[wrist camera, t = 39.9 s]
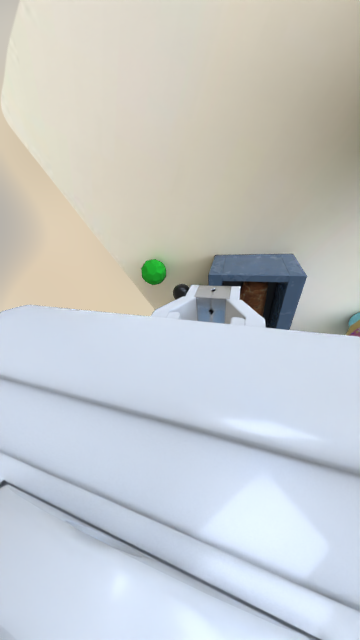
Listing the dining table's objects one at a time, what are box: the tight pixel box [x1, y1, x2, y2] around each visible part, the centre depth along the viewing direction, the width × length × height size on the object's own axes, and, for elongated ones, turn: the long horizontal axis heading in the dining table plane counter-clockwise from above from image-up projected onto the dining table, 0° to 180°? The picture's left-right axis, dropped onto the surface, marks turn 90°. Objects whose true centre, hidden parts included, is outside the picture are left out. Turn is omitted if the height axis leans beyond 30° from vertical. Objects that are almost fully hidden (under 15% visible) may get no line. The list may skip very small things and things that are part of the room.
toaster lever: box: [173, 284, 189, 300], centre depth 34 cm, size 12×3×3 cm, turn 6°
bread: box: [239, 281, 268, 317], centre depth 36 cm, size 6×19×6 cm, turn 0°
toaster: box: [208, 254, 307, 330], centre depth 37 cm, size 13×24×9 cm, turn 6°
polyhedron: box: [141, 259, 166, 285], centre depth 37 cm, size 5×5×5 cm
